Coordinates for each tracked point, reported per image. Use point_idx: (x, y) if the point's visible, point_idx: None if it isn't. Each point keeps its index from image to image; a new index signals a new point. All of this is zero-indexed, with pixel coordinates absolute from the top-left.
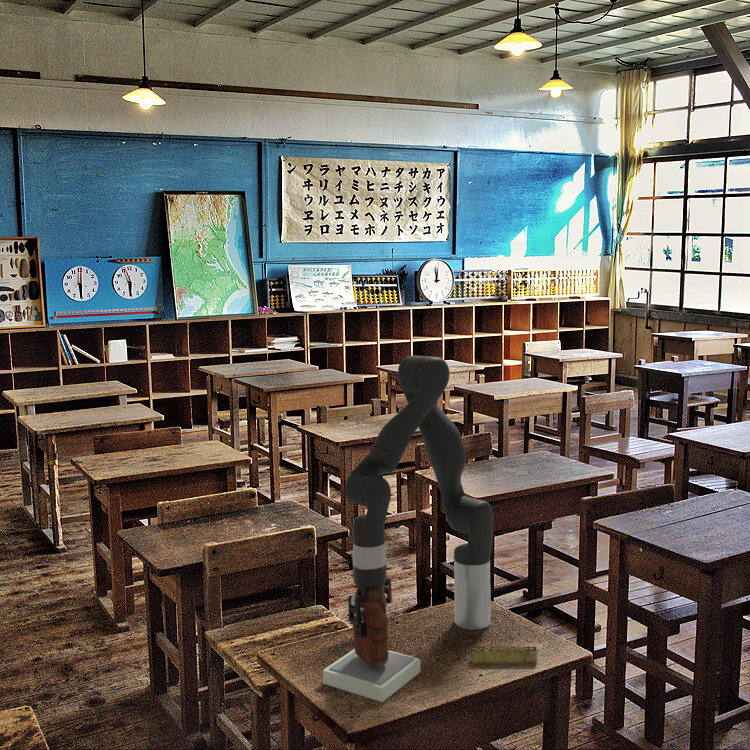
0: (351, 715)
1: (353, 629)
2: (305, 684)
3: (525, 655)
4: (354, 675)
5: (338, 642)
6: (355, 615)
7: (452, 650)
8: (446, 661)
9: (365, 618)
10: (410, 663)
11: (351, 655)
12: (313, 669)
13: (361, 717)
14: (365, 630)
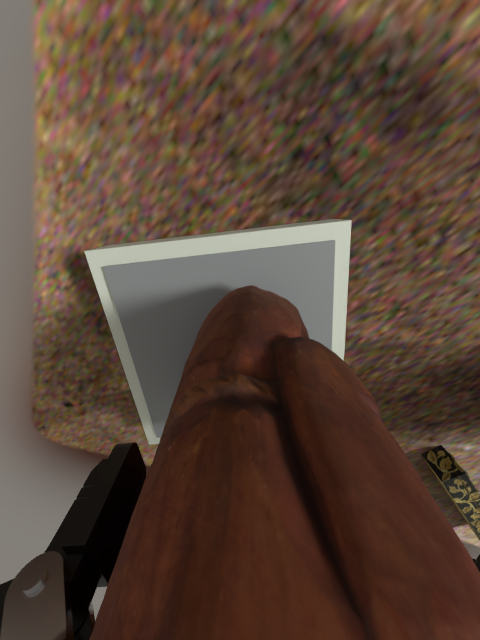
0: (70, 401)
1: (193, 355)
2: (60, 198)
3: (474, 532)
4: (135, 363)
5: (390, 30)
6: (6, 636)
7: (471, 396)
8: (406, 415)
9: (87, 638)
10: None
11: (232, 264)
12: (146, 136)
13: (83, 420)
14: (128, 520)
